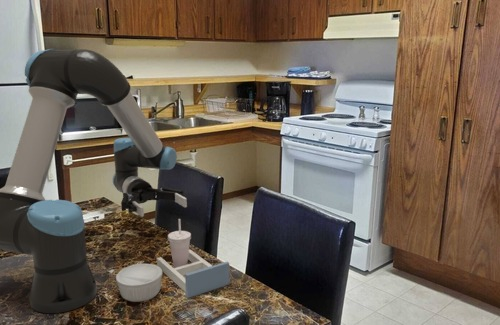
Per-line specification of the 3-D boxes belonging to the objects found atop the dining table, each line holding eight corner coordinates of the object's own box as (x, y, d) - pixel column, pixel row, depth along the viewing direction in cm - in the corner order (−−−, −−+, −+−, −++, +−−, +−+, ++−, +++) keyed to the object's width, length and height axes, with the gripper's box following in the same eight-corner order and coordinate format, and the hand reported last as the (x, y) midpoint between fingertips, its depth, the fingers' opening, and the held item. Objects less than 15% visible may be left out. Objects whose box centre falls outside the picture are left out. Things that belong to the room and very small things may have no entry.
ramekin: (116, 308, 101) (115, 287, 100) (117, 285, 112) (115, 266, 110) (165, 301, 104) (164, 281, 103) (161, 279, 115) (160, 261, 114)
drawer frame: (187, 298, 105) (187, 275, 104) (154, 267, 121) (153, 247, 120) (229, 284, 112) (229, 262, 111) (192, 256, 128) (192, 237, 127)
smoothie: (194, 262, 124) (193, 216, 121) (189, 273, 118) (187, 224, 115) (172, 261, 125) (170, 215, 122) (166, 271, 119) (164, 223, 116)
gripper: (172, 193, 151) (202, 210, 134) (100, 207, 137) (123, 228, 120) (171, 173, 149) (201, 187, 132) (98, 185, 135) (121, 203, 119)
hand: (164, 207), depth 126 cm, fingers open, 13 cm apart
